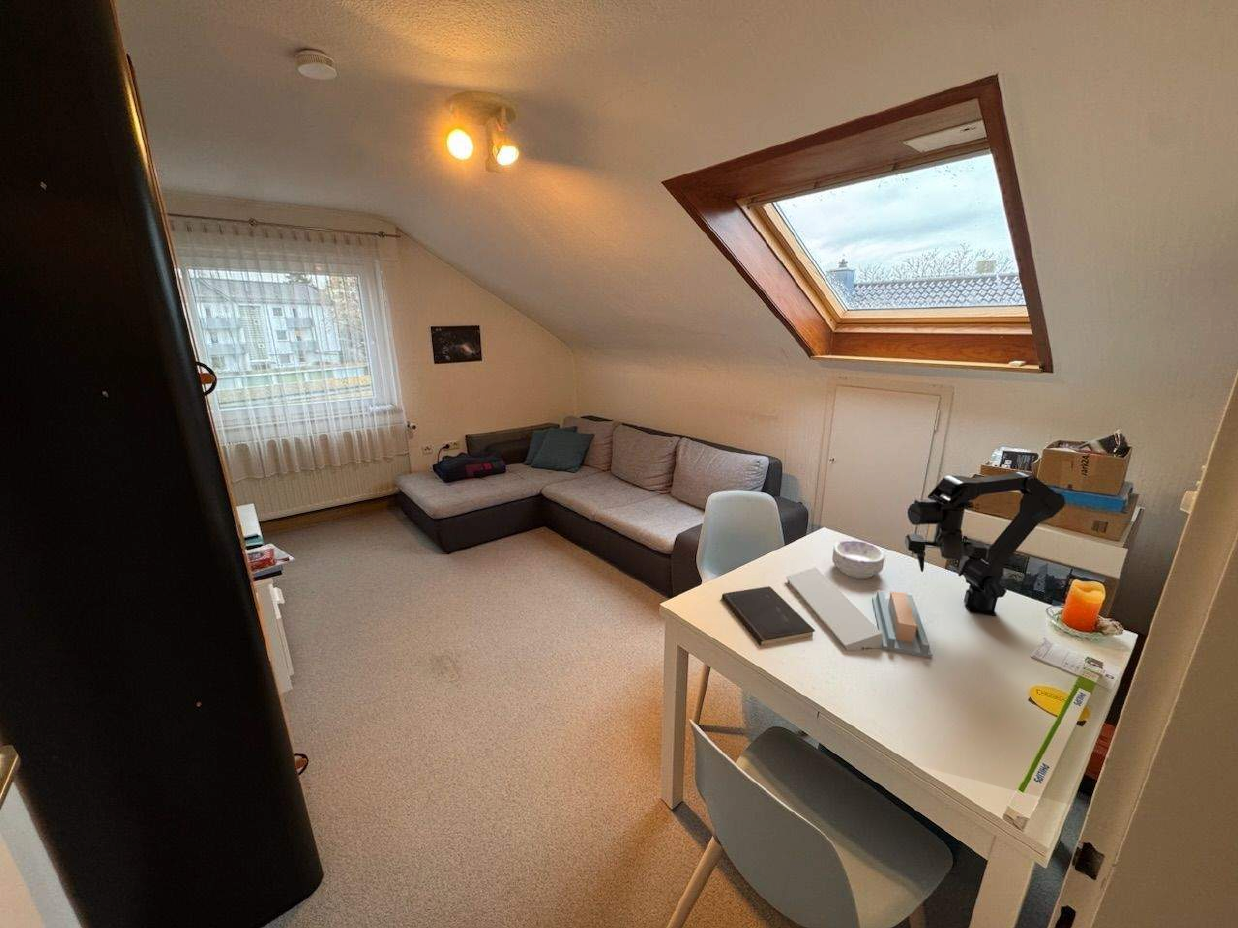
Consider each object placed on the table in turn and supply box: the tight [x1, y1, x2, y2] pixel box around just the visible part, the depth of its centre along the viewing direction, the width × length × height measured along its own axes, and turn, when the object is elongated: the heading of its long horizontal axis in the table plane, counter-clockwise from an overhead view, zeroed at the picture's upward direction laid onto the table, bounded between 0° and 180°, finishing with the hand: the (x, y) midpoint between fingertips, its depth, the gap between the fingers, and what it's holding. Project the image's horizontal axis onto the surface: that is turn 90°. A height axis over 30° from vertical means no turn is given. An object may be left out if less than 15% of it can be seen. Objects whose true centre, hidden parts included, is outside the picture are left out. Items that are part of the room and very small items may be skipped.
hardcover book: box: [721, 585, 816, 647], centre depth 142 cm, size 16×23×2 cm
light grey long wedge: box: [785, 567, 884, 651], centre depth 144 cm, size 34×5×10 cm
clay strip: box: [888, 590, 917, 643], centre depth 135 cm, size 4×16×5 cm, turn 159°
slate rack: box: [871, 589, 933, 659], centre depth 136 cm, size 11×24×4 cm, turn 160°
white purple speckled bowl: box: [831, 539, 886, 579], centre depth 164 cm, size 15×15×8 cm
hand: (940, 573), depth 140 cm, fingers open, 9 cm apart
